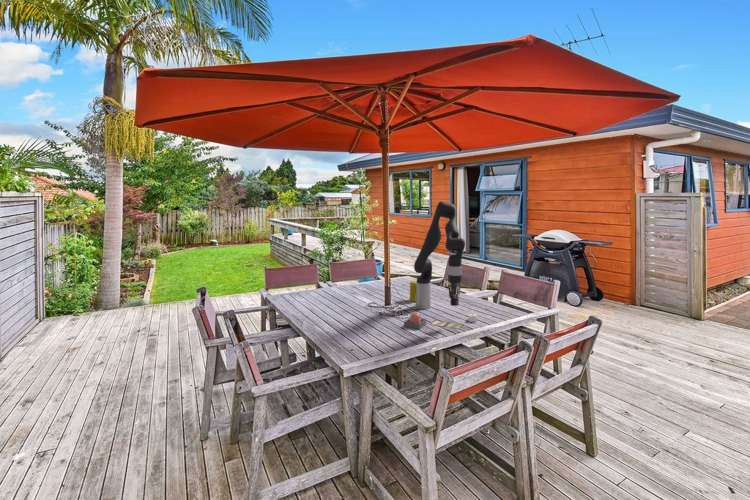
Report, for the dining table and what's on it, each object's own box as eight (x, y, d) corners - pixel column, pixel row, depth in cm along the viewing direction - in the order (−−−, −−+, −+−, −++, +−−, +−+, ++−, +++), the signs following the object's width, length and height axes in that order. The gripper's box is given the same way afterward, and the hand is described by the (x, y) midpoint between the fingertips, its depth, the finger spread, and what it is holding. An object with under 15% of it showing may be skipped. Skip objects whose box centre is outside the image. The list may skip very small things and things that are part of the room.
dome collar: (404, 328, 209) (403, 321, 209) (411, 323, 217) (411, 317, 217) (419, 331, 204) (419, 324, 204) (426, 326, 213) (426, 319, 212)
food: (408, 303, 267) (413, 301, 276) (424, 301, 262) (428, 298, 271) (404, 283, 267) (408, 281, 276) (419, 280, 262) (423, 278, 272)
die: (468, 323, 217) (469, 315, 216) (468, 321, 221) (468, 313, 220) (476, 323, 216) (476, 316, 215) (476, 321, 220) (476, 313, 219)
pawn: (449, 305, 207) (449, 292, 206) (452, 303, 211) (452, 290, 210) (457, 306, 205) (457, 293, 204) (459, 304, 209) (459, 291, 208)
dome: (407, 324, 210) (407, 313, 209) (412, 321, 215) (412, 311, 214) (418, 325, 206) (418, 315, 206) (422, 322, 212) (422, 312, 211)
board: (428, 326, 212) (428, 324, 212) (434, 321, 221) (434, 319, 221) (459, 331, 203) (459, 329, 203) (464, 326, 212) (464, 324, 211)
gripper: (457, 276, 198) (457, 307, 200) (465, 272, 210) (464, 301, 212) (444, 275, 202) (443, 306, 204) (452, 271, 214) (452, 300, 216)
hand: (454, 303), depth 208 cm, fingers closed on pawn, 4 cm apart
